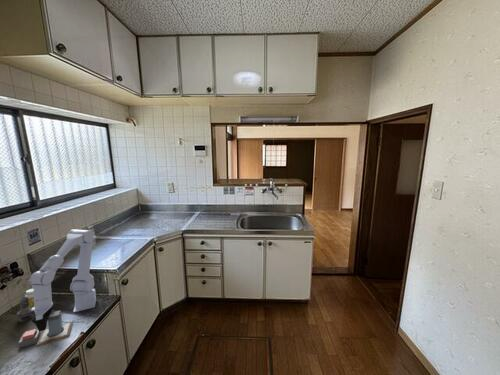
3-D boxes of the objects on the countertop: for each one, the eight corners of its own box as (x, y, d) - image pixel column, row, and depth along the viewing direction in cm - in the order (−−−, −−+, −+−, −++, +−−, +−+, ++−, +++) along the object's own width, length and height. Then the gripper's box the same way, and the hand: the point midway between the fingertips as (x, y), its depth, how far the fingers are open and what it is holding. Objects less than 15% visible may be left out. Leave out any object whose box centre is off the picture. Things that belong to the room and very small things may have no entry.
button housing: (40, 334, 101) (40, 329, 101) (36, 342, 96) (36, 337, 96) (23, 339, 98) (23, 333, 98) (18, 348, 93) (18, 342, 93)
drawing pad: (72, 322, 109) (72, 320, 108) (69, 336, 100) (68, 334, 100) (43, 331, 103) (43, 329, 103) (36, 346, 94) (36, 344, 94)
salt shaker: (23, 322, 108) (21, 300, 106) (14, 320, 109) (12, 298, 107) (36, 314, 113) (35, 293, 112) (28, 313, 114) (26, 291, 113)
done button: (36, 332, 99) (36, 328, 99) (34, 338, 96) (33, 333, 96) (25, 335, 97) (25, 331, 97) (22, 341, 94) (22, 337, 94)
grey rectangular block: (62, 327, 104) (61, 309, 103) (60, 332, 101) (59, 314, 100) (51, 330, 102) (50, 312, 101) (49, 336, 99) (47, 317, 98)
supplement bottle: (41, 304, 121) (40, 288, 120) (29, 310, 116) (27, 294, 115) (35, 302, 123) (33, 286, 122) (22, 308, 118) (21, 292, 117)
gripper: (35, 291, 102) (37, 318, 103) (25, 308, 89) (27, 339, 91) (55, 287, 105) (57, 313, 107) (47, 303, 93) (49, 332, 94)
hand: (44, 324), depth 99 cm, fingers open, 7 cm apart
